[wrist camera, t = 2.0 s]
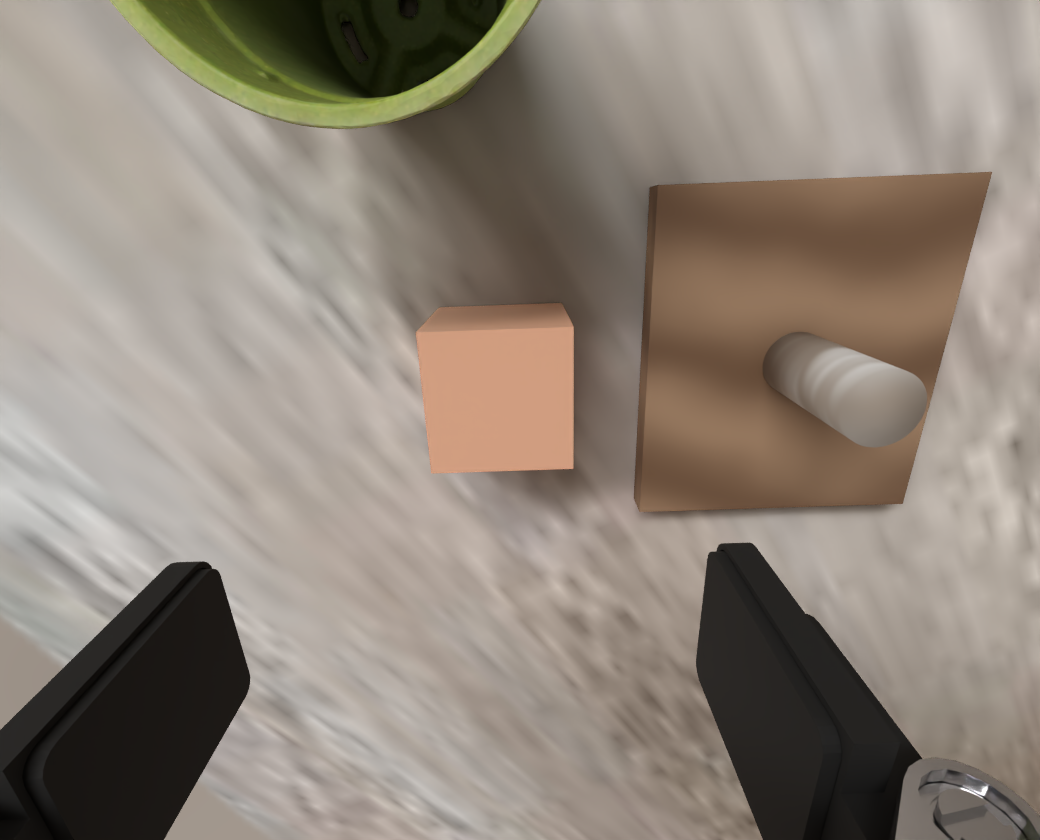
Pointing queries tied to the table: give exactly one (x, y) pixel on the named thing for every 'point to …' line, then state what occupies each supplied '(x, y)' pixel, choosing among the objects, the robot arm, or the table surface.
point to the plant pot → (331, 53)
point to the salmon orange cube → (498, 387)
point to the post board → (779, 287)
